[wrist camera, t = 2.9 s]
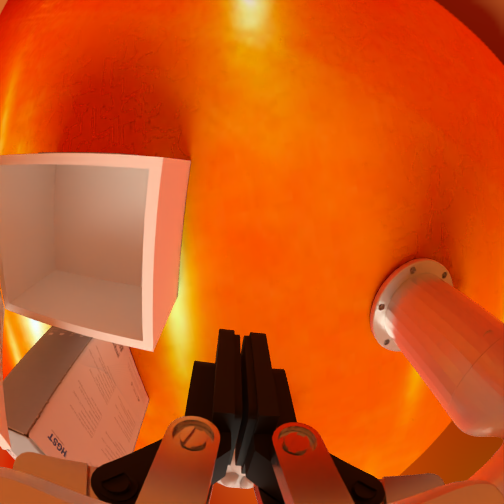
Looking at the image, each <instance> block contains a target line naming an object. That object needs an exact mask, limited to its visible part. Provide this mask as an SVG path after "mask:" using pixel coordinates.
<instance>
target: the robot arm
mask: <svg viewBox="0 0 504 504" xmlns="http://www.w3.org/2000/svg"><path fill="white" fill-rule="evenodd" d="M370 325H371V330H372V333H373V335H374V337H375V338H376V340H377V341H378V343H379V344H380V345H381V346H383V347H384V348H386V349H388V350H392V351H402V353H403V354H404V355H405V357H406V358H407V359H408V360H409V362H410V363H411V364H412V366H413V367H414V368H415V370H416V371H417V372H418V374H419V375H420V376H421V378H422V379H423V380H424V382H425V383H426V384H427V386H428V387H429V388H430V390H431V391H432V393H433V394H434V395H435V397H436V398H437V399H438V401H439V402H440V404H441V405H442V406H443V408H444V409H445V411H446V412H447V414H448V415H449V416H450V418H451V419H452V420H453V422H454V423H455V424H456V426H457V427H458V428H459V429H460V430H462V431H463V432H465V433H466V434H469V435H472V436H481V437H487V436H494V437H500V438H502V439H503V440H504V323H503V322H501V321H500V320H499V319H497V318H496V317H495V316H493V315H492V314H491V313H489V312H488V311H487V310H485V309H484V308H482V307H481V306H480V305H478V304H477V303H476V302H474V301H473V300H471V299H470V298H468V297H467V296H466V295H464V294H463V293H461V292H460V291H458V290H457V289H455V288H454V287H453V282H452V278H451V275H450V273H449V271H448V270H447V269H446V267H445V266H443V265H442V264H441V263H439V262H437V261H435V260H433V259H429V258H418V259H415V260H411V261H409V262H407V263H405V264H403V265H401V266H400V267H399V268H398V269H396V270H395V271H394V272H393V273H392V274H391V275H390V276H389V277H388V278H387V279H386V280H385V282H384V283H383V284H382V286H381V287H380V289H379V291H378V293H377V294H376V296H375V299H374V302H373V304H372V309H371V313H370ZM234 449H235V465H236V466H241V474H246V478H247V479H249V480H250V481H251V482H253V485H254V491H255V495H256V499H257V502H258V504H504V442H503V444H502V446H501V447H500V448H499V450H498V451H497V452H496V453H495V454H494V455H493V456H492V458H491V459H490V460H489V461H488V462H487V463H486V464H485V465H484V466H482V468H480V469H479V470H478V471H477V472H476V473H475V474H474V475H473V476H471V477H470V478H469V479H468V480H466V481H459V482H454V483H450V484H446V485H445V484H444V482H443V480H442V479H441V478H440V477H439V476H438V475H435V474H431V473H427V474H418V475H406V476H390V477H383V478H382V479H377V478H375V477H374V476H372V475H370V474H368V473H366V472H364V471H362V470H360V469H358V468H356V467H354V466H352V465H350V464H348V463H346V462H344V461H343V460H341V459H339V458H337V457H335V456H333V455H332V454H330V453H329V452H328V450H327V448H326V446H325V444H324V442H323V440H322V438H321V436H320V435H319V433H318V432H317V431H316V430H315V429H313V428H312V427H310V426H308V425H306V424H303V423H298V422H297V421H296V416H295V412H294V408H293V403H292V399H291V395H290V390H289V386H288V382H287V377H286V373H285V370H284V369H272V367H271V361H270V355H269V350H268V344H267V338H266V334H263V333H253V332H250V335H249V336H244V338H243V344H242V350H241V354H240V335H235V334H234V330H225V329H219V336H218V345H217V353H216V362H215V363H207V362H200V361H194V366H193V371H192V377H191V382H190V388H189V394H188V400H187V406H186V412H185V416H183V417H180V418H177V419H176V420H174V421H173V422H171V423H170V425H169V426H168V428H167V430H166V432H165V435H164V437H163V439H161V440H159V441H157V442H155V443H153V444H150V445H148V446H146V447H144V448H142V449H139V450H137V451H135V452H132V453H130V454H128V455H125V456H123V457H121V458H118V459H116V460H113V461H111V462H108V463H105V464H103V465H101V466H99V467H93V466H89V465H88V463H83V462H76V461H71V460H65V459H60V458H55V457H51V456H46V455H42V454H38V453H34V452H25V453H21V454H20V455H19V456H18V457H16V460H15V462H14V466H13V469H9V468H4V467H0V504H209V501H210V497H211V492H212V488H213V484H214V483H216V482H218V481H219V480H221V479H222V478H224V477H225V475H226V471H227V467H228V465H231V462H232V458H233V454H234Z"/></svg>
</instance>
